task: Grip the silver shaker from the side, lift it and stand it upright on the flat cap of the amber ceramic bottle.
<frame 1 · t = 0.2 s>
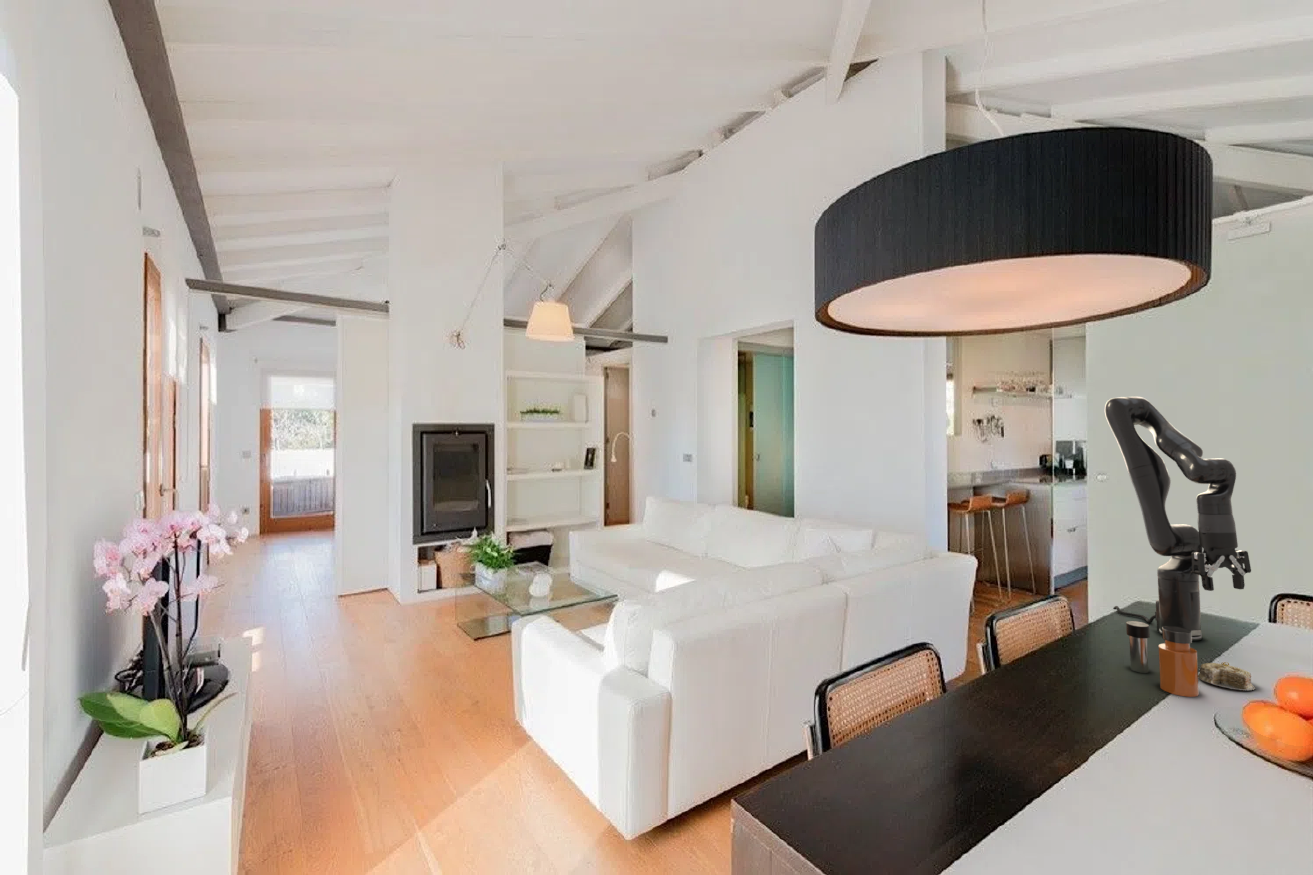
hand: (1223, 589, 158), 17 cm above the table, tool pointing down, fingers open, 8 cm apart
cake: (1225, 684, 139), on the table
bottle: (1179, 690, 137), on the table
silver shaker: (1139, 670, 149), on the table
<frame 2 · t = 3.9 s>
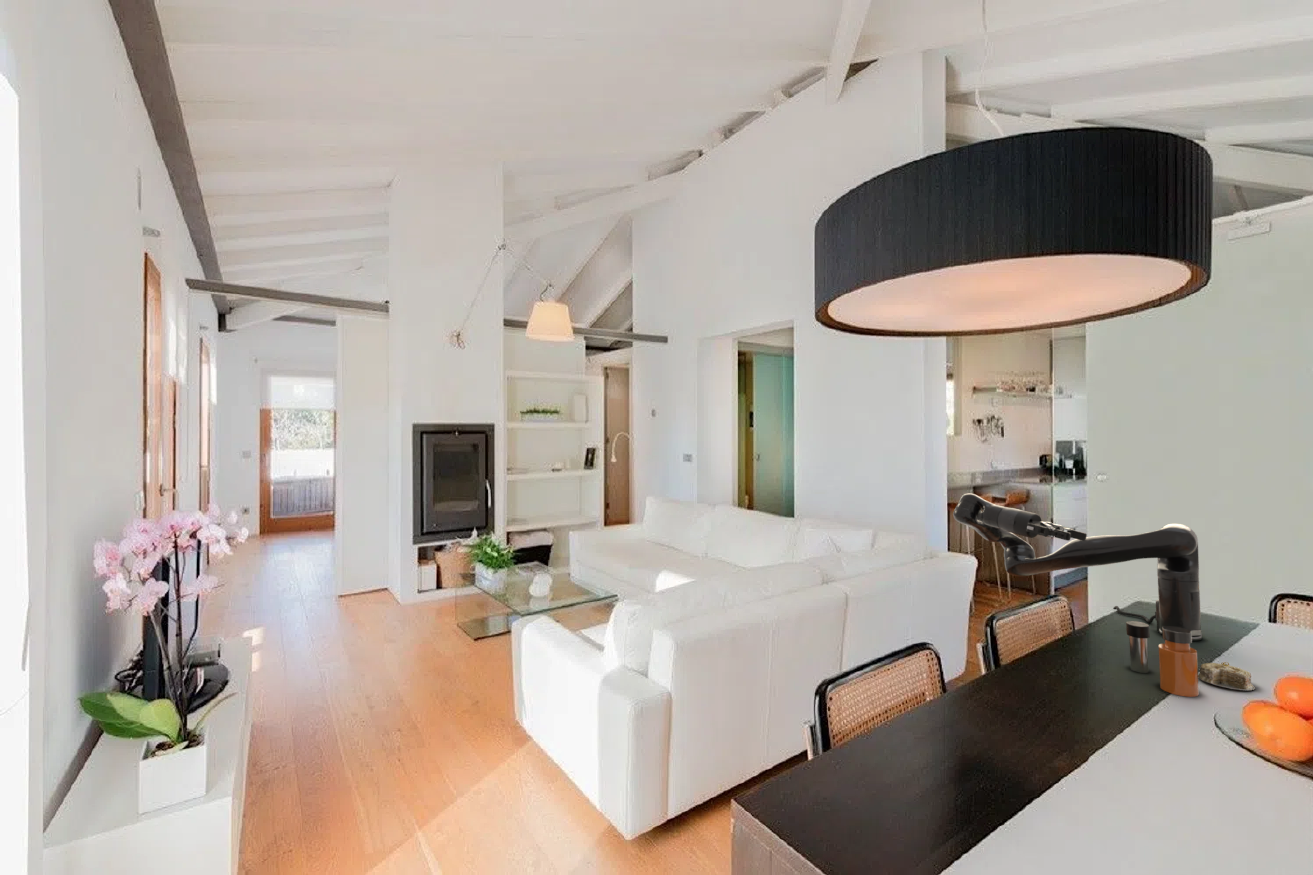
hand: (1077, 537, 161), 33 cm above the table, tool horizontal, fingers open, 8 cm apart
nothing on the table moved.
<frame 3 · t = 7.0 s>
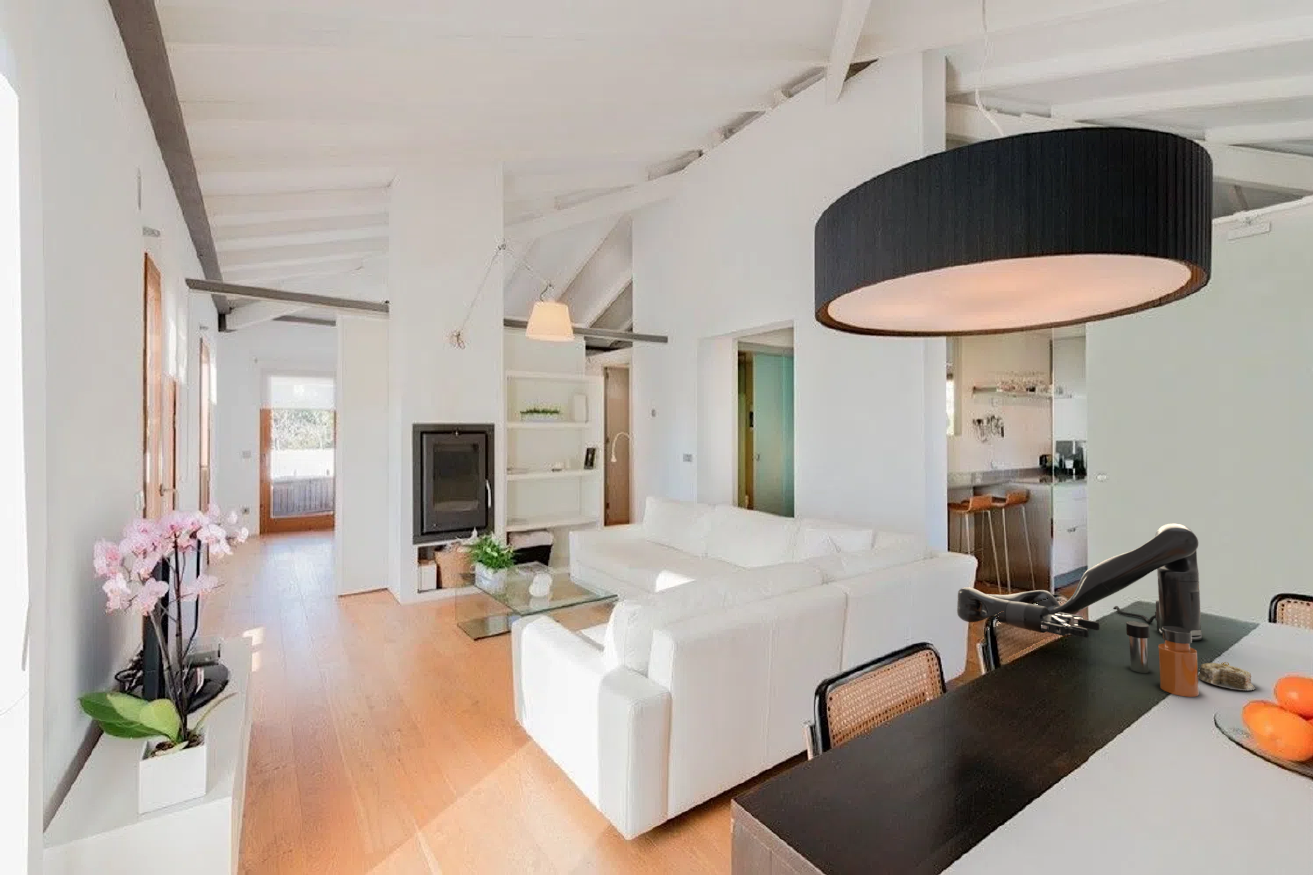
hand: (1093, 629, 156), 8 cm above the table, tool horizontal, fingers open, 8 cm apart
nothing on the table moved.
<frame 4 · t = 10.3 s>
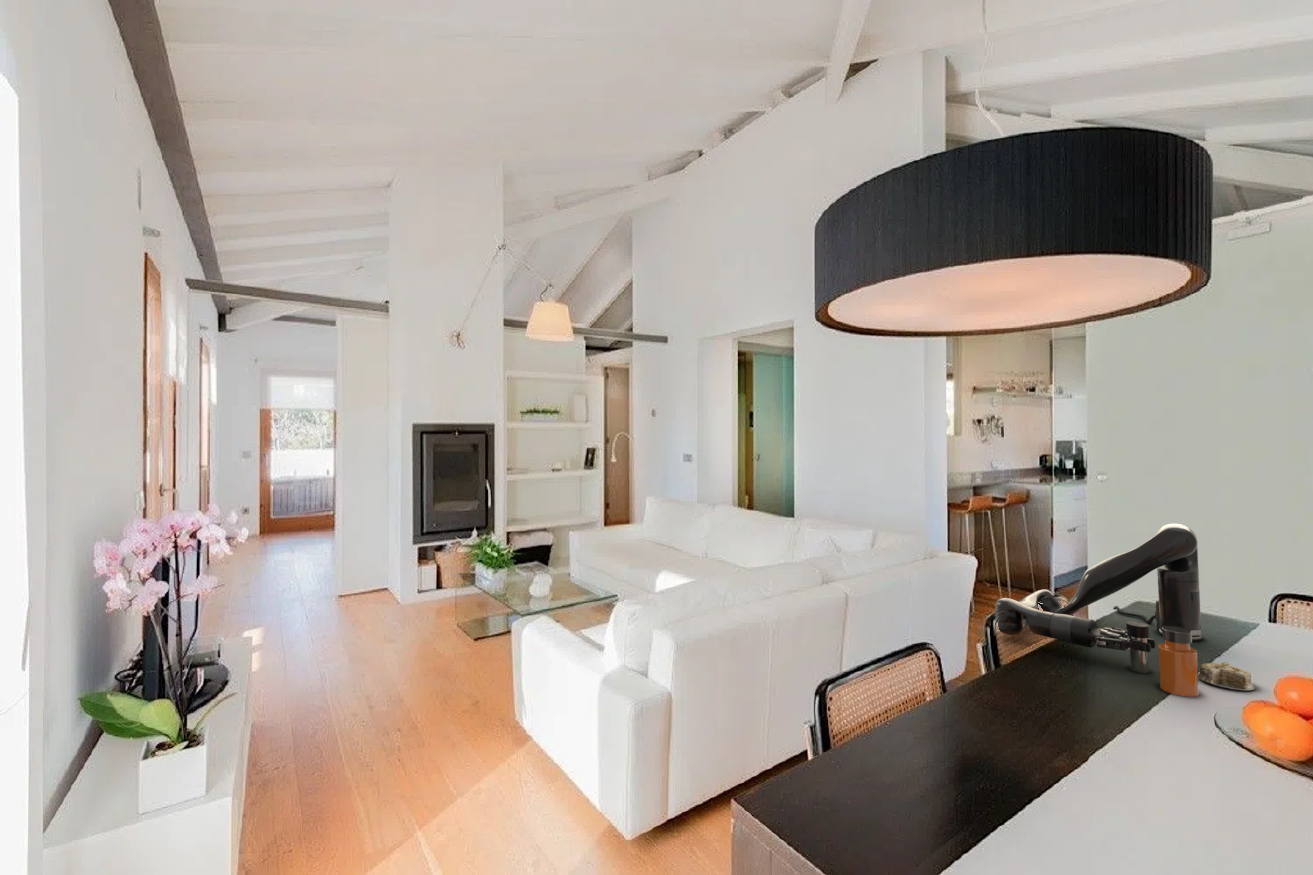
hand: (1152, 646, 146), 7 cm above the table, tool horizontal, fingers closed on silver shaker, 3 cm apart
silver shaker: (1139, 670, 149), on the table, touching gripper
everything else where it was.
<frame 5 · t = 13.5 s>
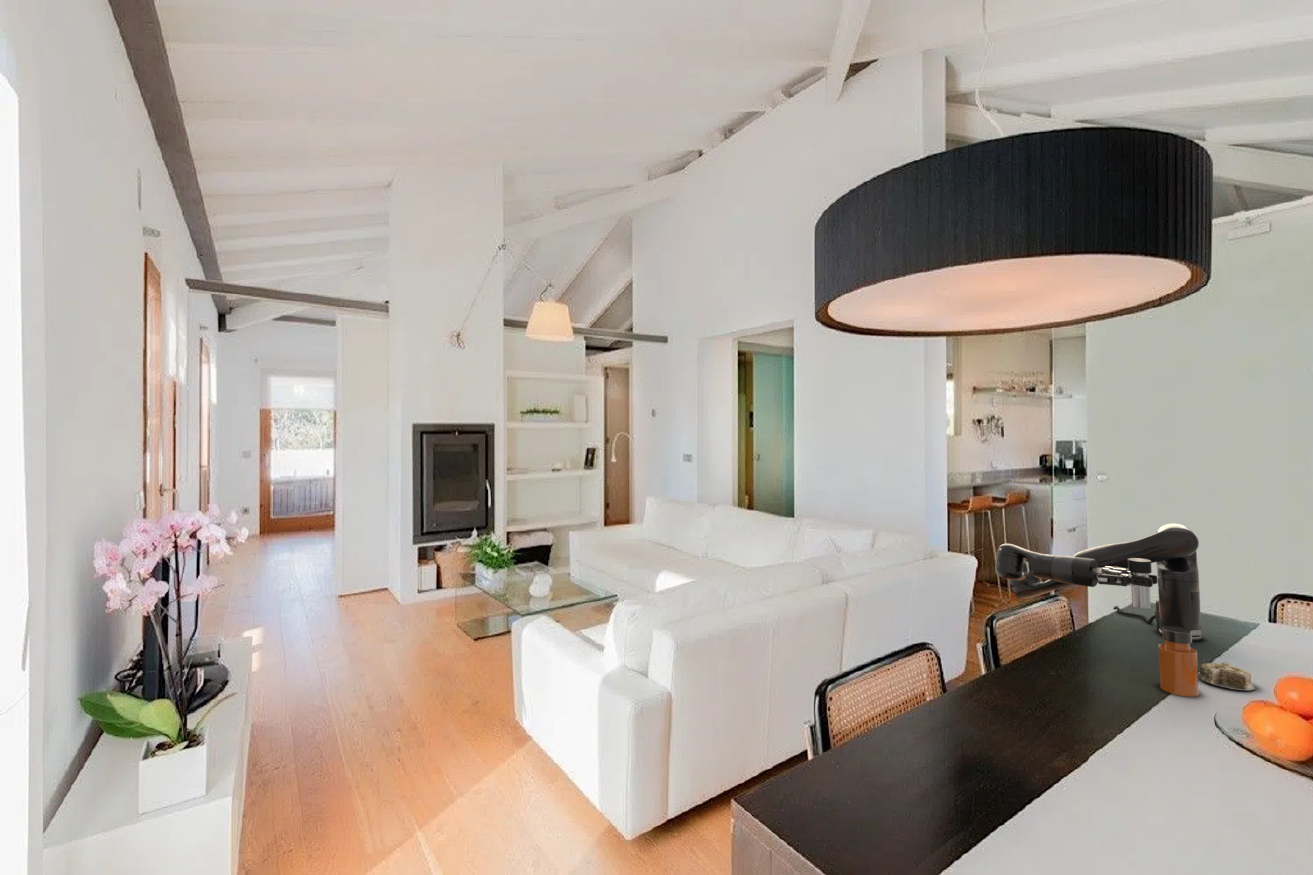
hand: (1154, 581, 145), 24 cm above the table, tool horizontal, fingers closed on silver shaker, 3 cm apart
silver shaker: (1141, 606, 147), point 17 cm above the table, touching gripper
everything else where it was.
when the fingers open (22 cm above the table, at t = 16.8 s): silver shaker stays where it is, resting on bottle.
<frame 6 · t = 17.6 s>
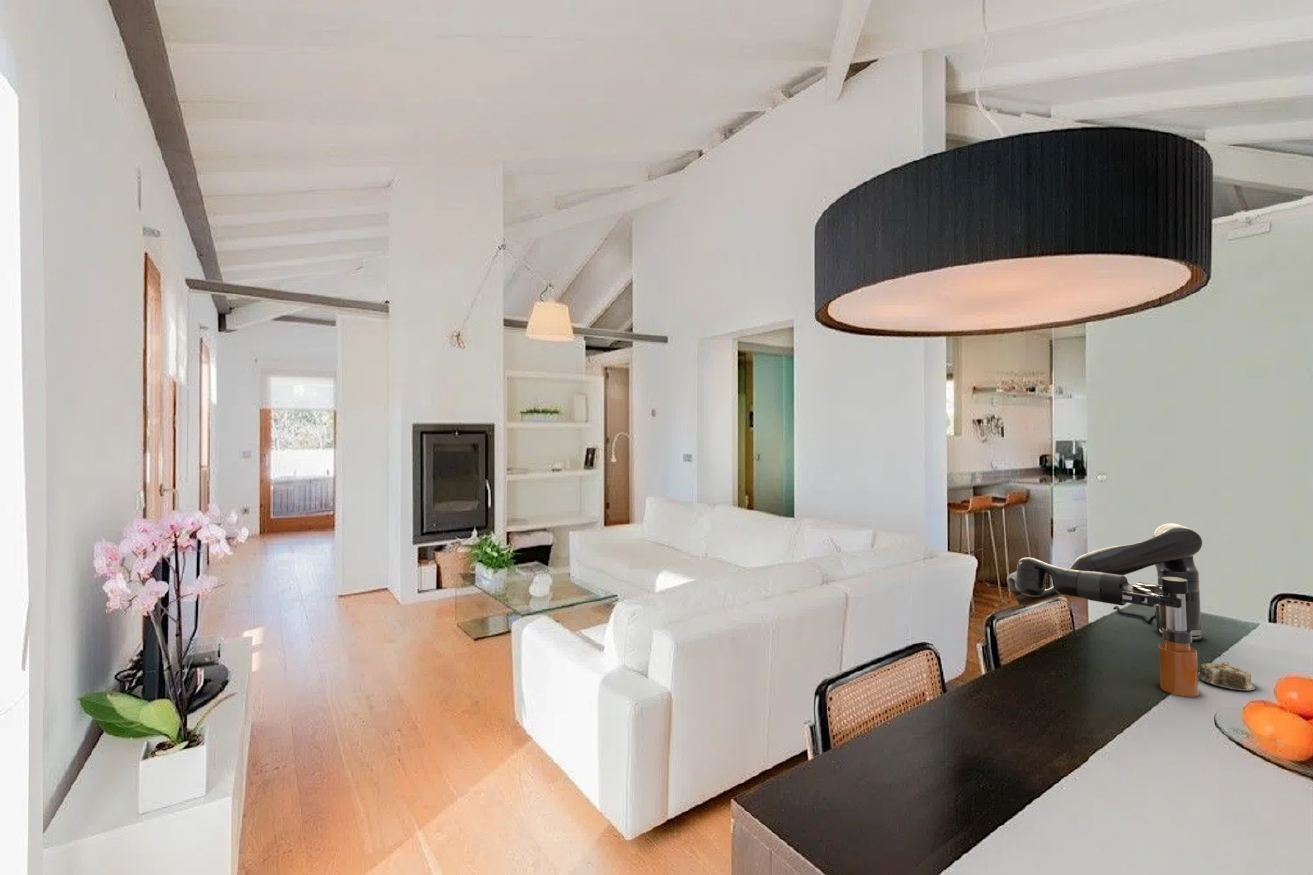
hand: (1185, 599, 135), 22 cm above the table, tool horizontal, fingers open, 8 cm apart
silver shaker: (1176, 629, 137), point 14 cm above the table, touching bottle
everything else where it was.
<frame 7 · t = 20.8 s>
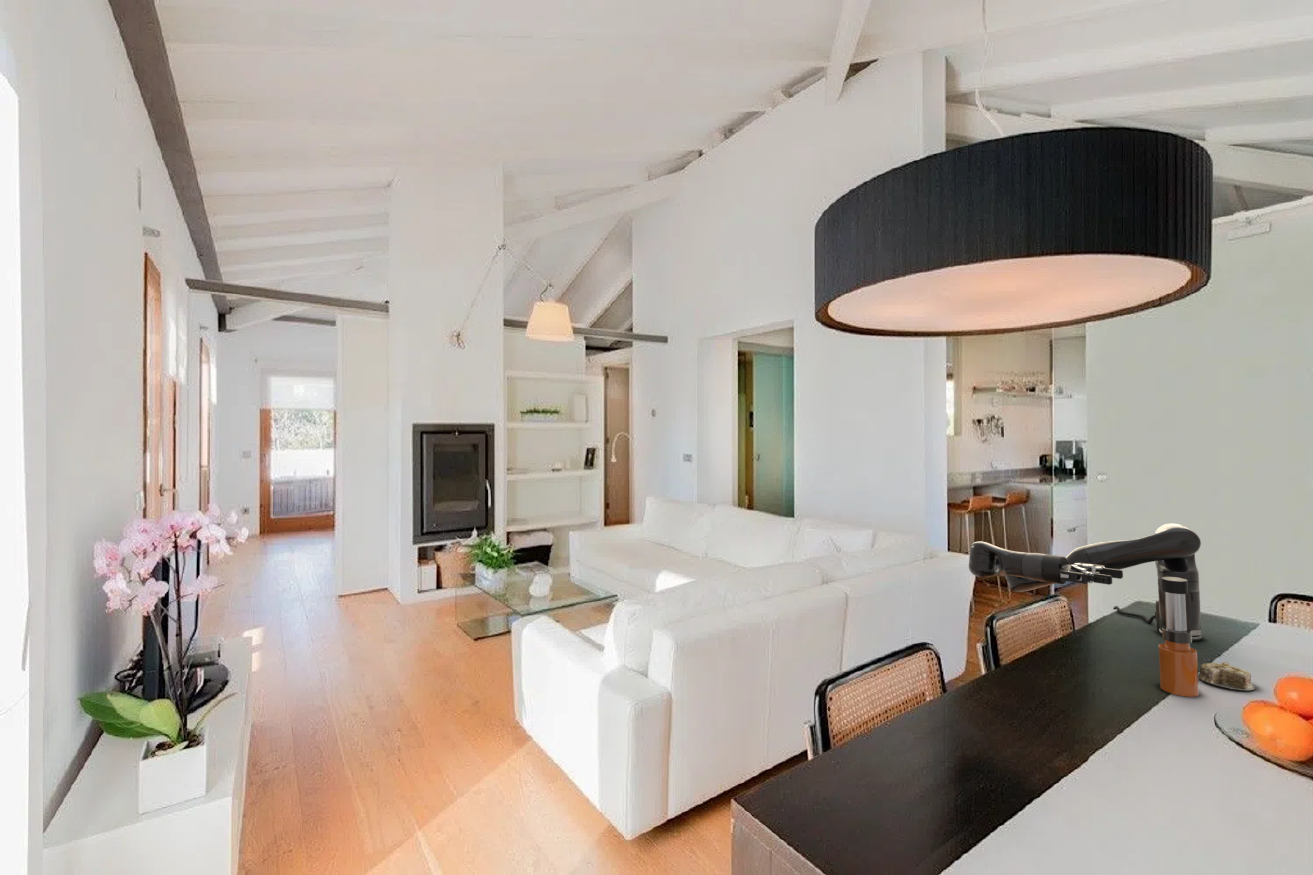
hand: (1117, 577, 146), 25 cm above the table, tool horizontal, fingers open, 8 cm apart
nothing on the table moved.
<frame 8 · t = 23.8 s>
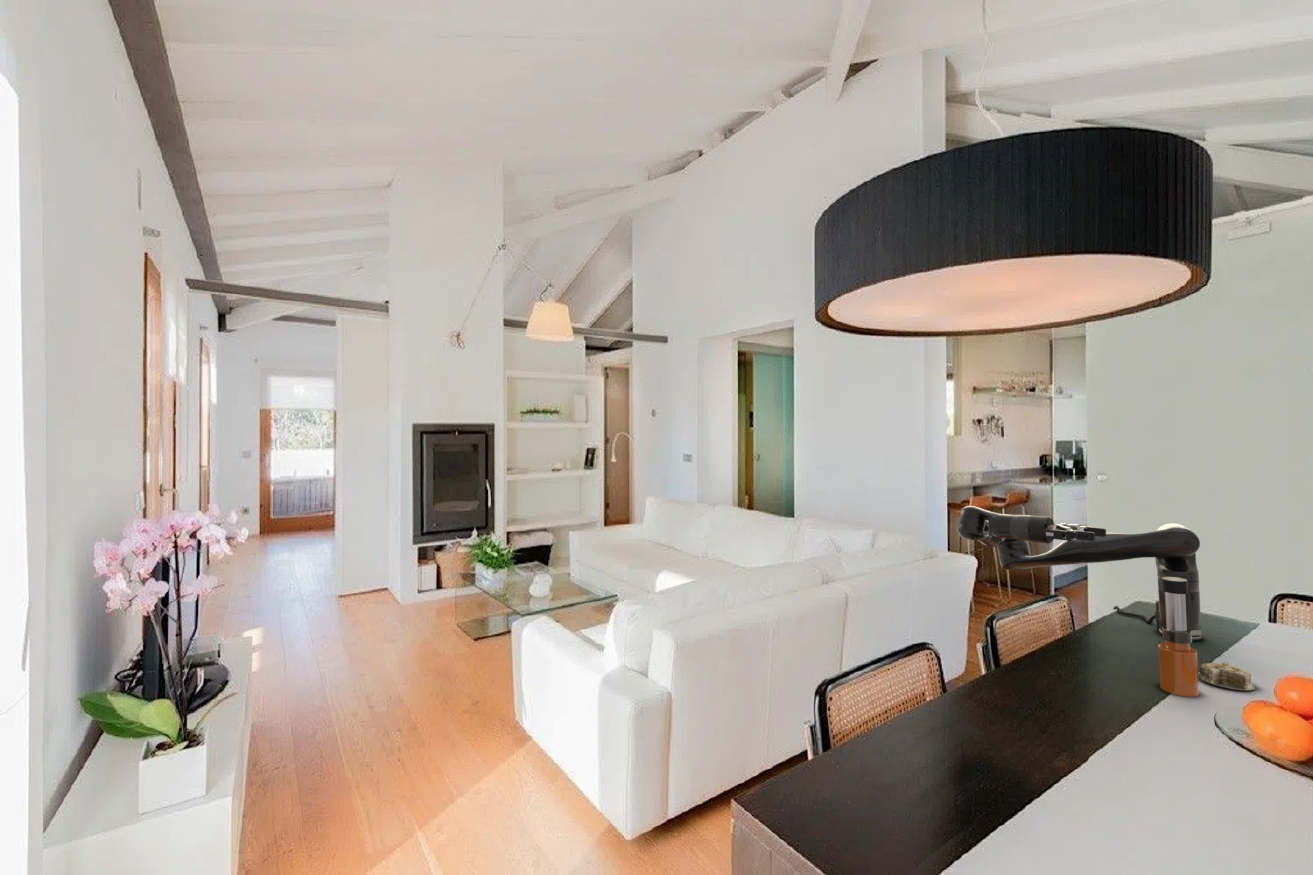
hand: (1100, 534, 151), 35 cm above the table, tool horizontal, fingers open, 8 cm apart
nothing on the table moved.
at the end: silver shaker 0.0 cm off-centre on the bottle, point 14.5 cm above the bottle's base; silver shaker tilted 0°; the gripper is holding nothing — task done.
